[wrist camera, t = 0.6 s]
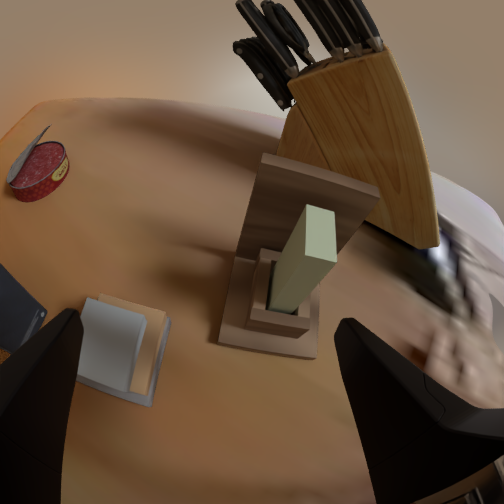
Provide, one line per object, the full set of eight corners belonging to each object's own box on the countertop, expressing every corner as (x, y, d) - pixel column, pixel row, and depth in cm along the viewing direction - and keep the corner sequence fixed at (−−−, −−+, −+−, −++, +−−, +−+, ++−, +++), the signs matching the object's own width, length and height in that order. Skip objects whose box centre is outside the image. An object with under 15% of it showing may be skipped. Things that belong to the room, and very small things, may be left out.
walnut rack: (312, 360, 24) (398, 312, 13) (217, 344, 23) (237, 281, 13) (316, 269, 30) (377, 187, 19) (235, 251, 29) (263, 152, 18)
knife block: (239, 121, 43) (280, -50, 17) (423, 210, 41) (519, 74, 15) (206, 154, 37) (245, -67, 11) (426, 259, 34) (559, 102, 9)
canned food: (47, 223, 31) (0, 207, 21) (24, 188, 32) (-16, 169, 22) (92, 160, 32) (52, 127, 22) (64, 132, 33) (29, 102, 23)
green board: (283, 322, 25) (336, 262, 16) (262, 318, 25) (305, 255, 15) (287, 283, 27) (334, 212, 18) (267, 279, 27) (306, 204, 18)
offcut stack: (151, 407, 19) (140, 406, 15) (79, 381, 19) (56, 373, 15) (171, 322, 24) (166, 303, 20) (103, 303, 23) (87, 281, 19)
